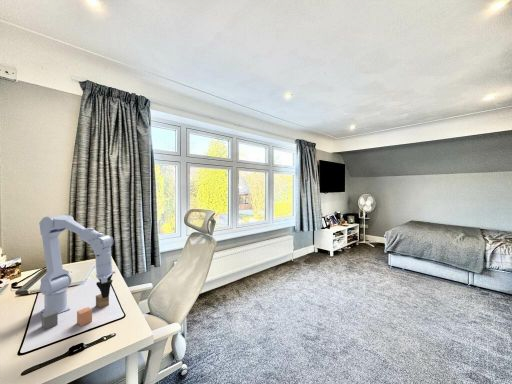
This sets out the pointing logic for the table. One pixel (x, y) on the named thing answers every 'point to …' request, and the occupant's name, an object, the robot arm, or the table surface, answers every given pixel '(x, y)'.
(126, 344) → the table surface
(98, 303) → the walnut block
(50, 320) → the charcoal block
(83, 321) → the terracotta block
